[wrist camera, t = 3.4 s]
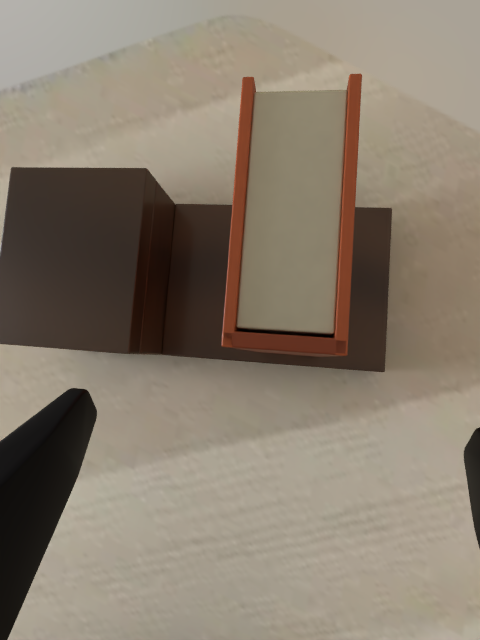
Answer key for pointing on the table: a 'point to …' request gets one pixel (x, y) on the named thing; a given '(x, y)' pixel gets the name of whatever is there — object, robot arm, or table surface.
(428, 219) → the table surface
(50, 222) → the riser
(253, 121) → the book
